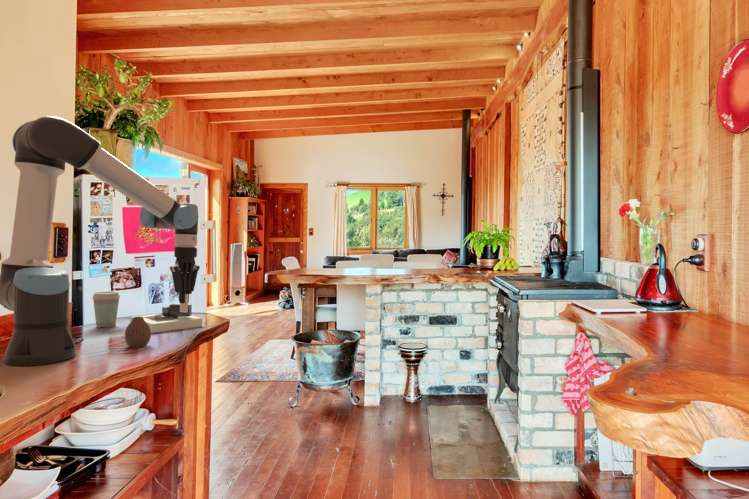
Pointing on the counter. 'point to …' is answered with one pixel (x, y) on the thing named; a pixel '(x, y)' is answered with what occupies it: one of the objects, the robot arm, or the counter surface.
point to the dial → (172, 313)
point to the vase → (137, 333)
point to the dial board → (171, 323)
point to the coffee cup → (106, 308)
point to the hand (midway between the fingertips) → (183, 312)
